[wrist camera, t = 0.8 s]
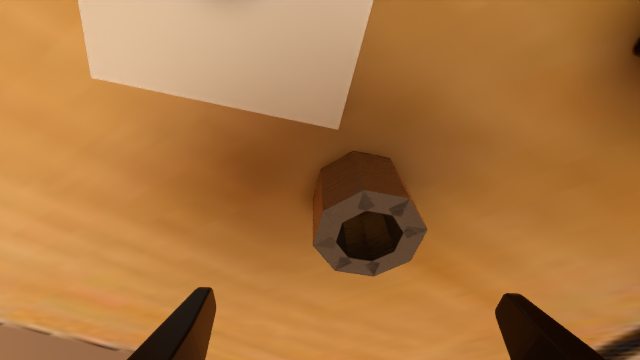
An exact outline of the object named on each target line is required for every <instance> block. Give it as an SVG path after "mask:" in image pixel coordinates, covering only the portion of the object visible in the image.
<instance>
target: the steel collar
mask: <svg viewBox="0 0 640 360" xmlns="http://www.w3.org/2000/svg"><path fill="white" fill-rule="evenodd" d="M365 211H366V212H365ZM363 212H364V213H363ZM361 213H362V214H361ZM426 231H427V228H426V226H425V224H424V222H423V220H422V218H421V216H420V214H419V212H418V210H417V208H416V206H415V204H414V202H413V200H412V198H411V196H410V194H409V192H408V190H407V188H406V186H405V185H404V183H403V181H402V179H401V178H400V176H399V174H398V172H397V171H396V169H395V167H394V165H393V163H392V162H391V160H390V158H385V157H380V156H375V155H370V154H366V153H361V152H356V151H353V152H351V153H349V154H347V155H346V156H344V157H342V158H340V159H338V160H337V161H335V162H333V163H331V164H330V165H328V166H326V167H324V168H322V169H321V171H320V175H319V179H318V183H317V187H316V191H315V195H314V198H313V246H314V247H315V248H316V249H317V251H318V252H319V253H320V254H321V255H322V256H323V257H324V259H325V260H326V261H327V262H328V263H329V264H330V265H331V267H332V268H333V269H334V270H335V271H340V272H347V273H354V274H361V275H368V276H376V275H378V274H381V273H383V272H385V271H388V270H390V269H392V268H395V267H397V266H399V265H402V264H404V263H407V262H409V261H411V259H412V257H413V255H414V254H415V252H416V250H417V248H418V246H419V244H420V242H421V241H422V239H423V237H424V235H425V233H426Z"/></svg>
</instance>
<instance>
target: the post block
mask: <svg viewBox="0 0 640 360" xmlns="http://www.w3.org/2000/svg"><path fill="white" fill-rule="evenodd" d="M78 3H79V9H80V15H81V21H82V27H83V33H84V39H85V45H86V50H87V56H88V62H89V68H90V74H91V78H95V79H99V80H104V81H109V82H114V83H118V84H123V85H128V86H133V87H137V88H142V89H147V90H152V91H156V92H161V93H166V94H171V95H175V96H180V97H185V98H189V99H194V100H199V101H204V102H208V103H213V104H218V105H223V106H227V107H232V108H237V109H242V110H246V111H251V112H256V113H261V114H265V115H270V116H275V117H280V118H284V119H289V120H294V121H298V122H303V123H308V124H313V125H317V126H322V127H327V128H332V129H336V130H338V129H339V125H340V121H341V118H342V114H343V110H344V107H345V103H346V99H347V96H348V92H349V88H350V85H351V81H352V77H353V74H354V70H355V66H356V62H357V59H358V55H359V51H360V48H361V44H362V40H363V37H364V33H365V29H366V26H367V22H368V18H369V15H370V11H371V7H372V4H373V0H78Z"/></svg>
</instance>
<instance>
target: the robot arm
mask: <svg viewBox="0 0 640 360" xmlns="http://www.w3.org/2000/svg"><path fill="white" fill-rule="evenodd" d="M635 54H636V55H637V56H640V42H639V43H638V45H637V46H636V48H635ZM215 313H216V302H215V297H214V293H213V290H212V288H210V287H199V288H197V289H196V290H194V292H193V293H192V294H191V295H190V296H189V297H188V298H187V299H186V300H185V301H184V302H183V303H182V304H181V305H180V306H179V307H178V308H177V309H176V310H175V311H174V312H173V313H172V314H171V315H170V316H169V317H168V318H167V319H166V320H165V321H164V322H163V323H162V324H161V325H160V326H159V327H158V328H157V329H156V330H155V331H154V332H153V333H152V334H151V335H150V336H149V337H148V339H147V340H146V341H145V342H144V343H143V344H142V345H141V346H140V347H139V348H138V349H137V350H136V351H135V352H134V353H133V354H132V355H131V356H130V357H129V358H128V359H127V360H205V358H206V353H207V349H208V344H209V340H210V335H211V331H212V326H213V322H214V317H215ZM495 315H496V319H497V322H498V325H499V328H500V330H501V333H502V336H503V339H504V342H505V345H506V347H507V350H508V353H509V356H510V359H511V360H606V359H605V358H604V357H602V356H601V355H600V354H599V353H597V352H596V351H595V350H593V349H592V348H591V347H589V346H588V345H587V344H585V343H584V342H583V341H581V340H580V339H579V338H578V337H576V336H575V335H574V334H572V333H571V332H570V331H568V330H567V329H566V328H564V327H563V326H562V325H560V324H559V323H558V322H556V321H555V320H554V319H553V318H551V317H550V316H549V315H547V314H546V313H545V312H543V311H542V310H541V309H539V308H538V307H537V306H535V305H534V304H533V303H531V302H530V301H529V300H528V299H526V298H525V297H524V296H522V295H520V294H517V293H506V294H504V295H503V297H502V298H501V300H500V302H499V304H498V306H497V307H496V310H495Z"/></svg>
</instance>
